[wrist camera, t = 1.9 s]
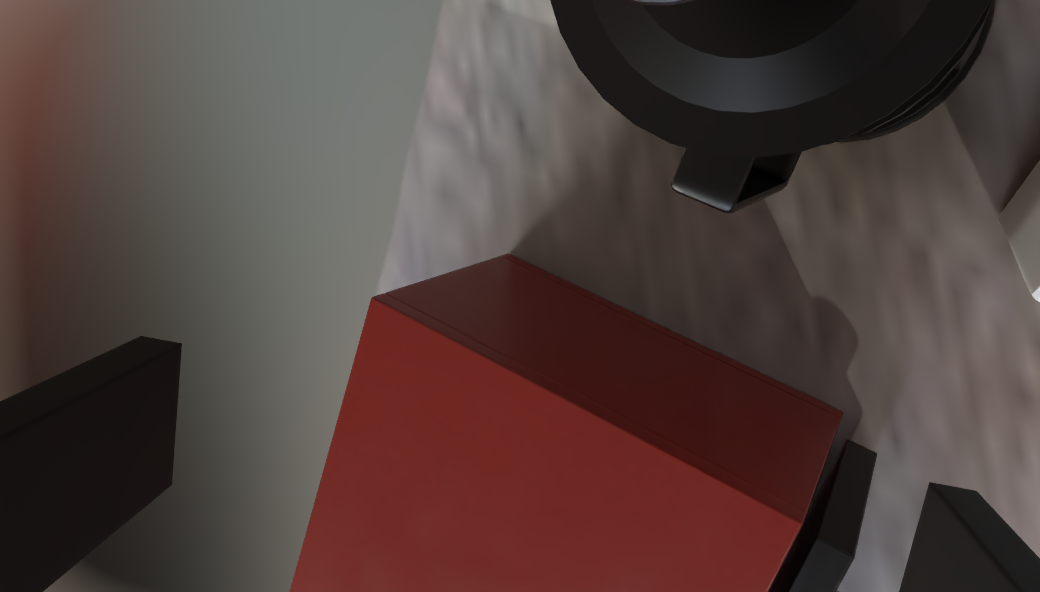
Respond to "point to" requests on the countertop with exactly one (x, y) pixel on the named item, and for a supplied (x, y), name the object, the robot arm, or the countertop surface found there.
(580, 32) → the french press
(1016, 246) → the milk carton
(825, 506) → the black drawer
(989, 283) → the countertop surface
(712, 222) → the countertop surface
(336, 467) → the red drawer cabinet
